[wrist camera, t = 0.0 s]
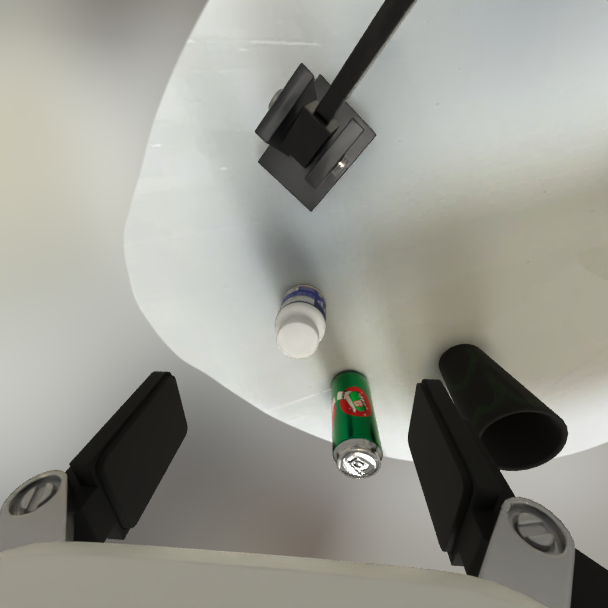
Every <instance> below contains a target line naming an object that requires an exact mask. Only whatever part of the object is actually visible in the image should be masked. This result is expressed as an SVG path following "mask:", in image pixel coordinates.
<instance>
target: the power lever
mask: <svg viewBox="0 0 608 608" xmlns="http://www.w3.org/2000/svg"><path fill="white" fill-rule="evenodd" d="M416 2H417V0H385V2H384V3H383V5H382V6H381V8H380V9H379V11H378V12H377V14H376V16H375V17H374V19H373V20H372V22H371V23H370V25H369V26H368V28H367V30H366V31H365V33H364V34H363V36H362V37H361V39H360V40H359V42H358V44H357V45H356V47H355V48H354V50H353V51H352V53H351V54H350V56H349V58H348V59H347V61H346V62H345V64H344V65H343V67H342V69H341V70H340V72H339V73H338V75H337V76H336V78H335V79H334V81H333V83H332V84H331V86H330V87H329V89H328V90H327V92H326V93H325V95H324V97H323V98H322V100H321V101H320V103H319V102H318V101H317V100H315V101H313V102H311V103H309V104H307V105H305V106H303V108H302V109H301V111H300V113H299V114H298V116H297V117H296V119H295V121H294V122H293V124H292V126H291V127H290V129H289V131H288V132H287V134H286V136H285V137H284V139H283V141H282V142H281V144H280V145H281V146H282V147H283V148H284V149H285V150H286V151H287V152H288V153H289V154H290V155H291V156H292V157H293V158H294V159H295V160H296V161H297V162H298V163H299V164H300V165H301V166H302V167H303V168H306V167H308V166H309V165H310V164H311V163H312V162H313V161H314V160H315V159H316V158H317V157H318V155H319V154H320V153H321V151H322V150H323V149H324V147H325V146H326V145H327V143H328V142H329V141H330V139H331V138H332V137H333V135H334V134H335V132H336V131H337V130H338V128H339V127H340V124H339V123H338V122H337V121H336V120H335V119H334V117H335V116H336V114H337V113H338V112H339V110H340V109H341V107H342V106H343V105H344V103H345V102H346V100H347V99H348V98H349V96H350V95H351V93H352V92H353V90H354V89H355V88H356V86H357V85H358V83H359V82H360V81H361V79H362V78H363V76H364V75H365V74H366V72H367V71H368V69H369V68H370V66H371V65H372V64H373V62H374V61H375V59H376V58H377V57H378V55H379V54H380V52H381V51H382V50H383V48H384V47H385V45H386V44H387V43H388V41H389V40H390V38H391V37H392V35H393V34H394V33H395V31H396V30H397V28H398V27H399V26H400V24H401V23H402V21H403V20H404V19H405V17H406V16H407V14H408V13H409V11H410V10H411V9H412V7H413V6H414V4H415V3H416Z"/></svg>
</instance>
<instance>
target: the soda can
mask: <svg viewBox="0 0 608 608" xmlns="http://www.w3.org/2000/svg"><path fill="white" fill-rule="evenodd" d="M331 395H332V446H333V458H334V460H335V462H336V463H337V467H338V469H339V471H340V472H341V473H342V474H343V475H345V476H347V477H350V478H354V479H365V478H369V477H372V476H373V475H375V474H376V473H377V472H378V471H379V469H380V467H381V460H382V457H383V451H382V447H381V442H380V437H379V432H378V427H377V422H376V417H375V412H374V407H373V402H372V397H371V392H370V388H369V383H368V381H367V379H366V378H365V377H364V376H362V375H361V374H358V373H355V372H345V373H342V374H340V375H338V376H337V377H336V378H335V379H334V380H333V382H332V385H331Z"/></svg>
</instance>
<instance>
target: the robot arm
mask: <svg viewBox="0 0 608 608" xmlns="http://www.w3.org/2000/svg"><path fill="white" fill-rule="evenodd" d="M186 433H187V422H186V418H185V414H184V410H183V406H182V402H181V398H180V394H179V391H178V387H177V383H176V379H175V377H174V376H172V375H171V373H170V372H153V373H151V375H150V376H149V377H148V378H147V379H146V380H145V381H144V382H143V383H142V384H141V385H140V386H139V388H138V389H137V390H136V391H135V392H134V393H133V394H132V395H131V397H130V398H129V399H128V400H127V401H126V402H125V403H124V404H123V405H122V406H121V407H120V409H119V410H118V411H117V412H116V413H115V414H114V415H113V416H112V417H111V418H110V420H109V421H108V422H107V423H106V424H105V425H104V426H103V427H102V428H101V429H100V431H99V432H98V433H97V434H96V435H95V436H94V437H93V438H92V439H91V440H90V442H89V443H88V444H87V445H86V446H85V447H84V448H83V449H82V450H81V451H80V453H79V454H78V455H77V456H76V457H75V458H74V459H73V460H72V461H71V462H70V464H69V465H70V467H69V469H68V470H67V471H66V472H64V471H61V470H52V471H47V472H44V473H41V474H38V475H36V476H35V477H33V478H31V479H29V480H27V481H26V482H24V483H23V484H22V485H20V486H19V487H18V488H17V489H16V490H15V491H14V492H12V493H11V494H10V496H9V497H8V498H7V499H6V501H5V502H4V504H3V506H2V508H1V510H0V608H608V570H607V569H605V568H604V567H602V566H600V565H599V564H598V563H596V562H595V561H593V560H592V559H590V558H588V557H587V556H586V555H584V554H583V553H581V552H580V551H578V550H577V549H576V548H575V546H574V541H573V539H572V537H571V534H570V532H569V531H568V529H567V528H566V527H565V525H564V524H563V523H562V522H561V520H559V519H558V518H557V517H556V516H555V515H554V514H553V513H552V512H551V511H549V510H548V509H546V508H545V507H544V506H542V505H541V504H538V503H536V502H534V501H532V500H530V499H526V498H522V497H515V496H514V494H513V492H512V490H511V489H510V487H509V485H508V484H507V482H506V480H505V479H504V477H503V475H502V473H501V472H500V470H499V468H498V467H497V465H496V463H495V462H494V460H493V458H492V457H491V455H490V453H489V452H488V450H487V448H486V447H485V445H484V443H483V442H482V440H481V438H480V437H479V435H478V433H477V431H476V430H475V428H474V426H473V425H472V423H471V422H470V421H469V420H468V419H467V418H462V417H461V415H460V413H459V412H458V410H457V408H456V406H455V405H454V403H453V401H452V399H451V398H450V396H449V394H448V392H447V391H446V389H445V387H444V385H443V384H442V382H441V381H440V380H434V379H423V380H422V383H417V386H416V392H415V398H414V403H413V409H412V415H411V421H410V427H409V433H408V444H409V448H410V451H411V454H412V457H413V461H414V464H415V467H416V470H417V474H418V477H419V480H420V483H421V487H422V490H423V493H424V496H425V500H426V502H427V506H428V509H429V512H430V516H431V519H432V522H433V525H434V529H435V532H436V535H437V538H438V542H439V545H440V547H441V549H442V551H444V552H448V555H449V558H450V561H451V565H454V566H464V568H465V571H466V573H467V575H465V574H459V573H453V572H447V571H440V570H433V569H423V568H414V567H404V566H394V565H385V564H374V563H362V562H351V561H339V560H327V559H315V558H303V557H291V556H279V555H266V554H253V553H241V552H227V551H215V550H202V549H201V550H200V549H188V548H175V547H174V548H173V547H160V546H147V545H133V544H115V543H104V542H105V540H106V539H107V538H108V539H119V540H124V539H125V537H126V535H127V533H128V531H129V530H130V528H133V527H134V526H135V525H136V524H137V522H138V521H139V519H140V517H141V515H142V513H143V512H144V510H145V508H146V506H147V504H148V503H149V501H150V499H151V497H152V495H153V493H154V492H155V490H156V488H157V486H158V485H159V483H160V481H161V479H162V477H163V475H164V474H165V472H166V470H167V468H168V466H169V465H170V463H171V461H172V459H173V457H174V456H175V454H176V452H177V450H178V448H179V447H180V445H181V443H182V441H183V439H184V437H185V436H186Z"/></svg>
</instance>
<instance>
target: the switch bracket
mask: <svg viewBox="0 0 608 608" xmlns="http://www.w3.org/2000/svg"><path fill="white" fill-rule="evenodd" d="M330 86H331V85H330V84H329V83H328V82H327V81H326V79H325V78H324V77H323V76H322V75H321V74H320V75H319V76H318V78H317V79H316V81H315V79H314V75H313V74H312V73H311V72H310V71H309V70H308V69H307V67H306V66H305V65H304V64H303V63H301V64H300V65H299V67H298V68H297V69H296V71H295V72H294V74H293V75H292V77H291V78H290V80H289V81H288V83H287V84H286V86H285V87H284V89H283V90H282V89H280V90H279V91H278V92H277V93H276V94H275V95H274V97H273V98H272V100H271V102H270V104H269V111H268V112H267V114H266V115H265V117H264V118H263V120H262V121H261V123H260V124H259V126H258V127H257V129H256V130H255V133H256V134H257V135H258V136H259V137H260V138H261V139H262V140H264V141H265V142H266V143H267V144H269V147H268V148H267V150H266V151H265V152H264V154H263V155H262V157H261V158H260V159H259V161H258V163H260V164H261V165H262V166H263V167H264V168H265V169H266V170H267V171H268V172H269V173H270V174H271V175H272V176H273V177H275V178H276V179H277V180H278V181H279V182H280V183H281V184H282V185H283V186H284V187H285V188H286V189H287V190H288V191H290V192H291V193H292V194H293V195H294V196H295V197H296V198H297V199H298V200H299V201H300V202H301V203H302V204H303V205H305V206H306V207H307V208H308V209H309V210H310V211H312V210H313V209H314V208H315V207H316V206H317V205H318V203H319V202H320V201H321V200H322V199H323V198H324V196H325V195H326V194H327V193H328V192H329V190H330V189H331V188H332V187H333V186H334V185H335V183H336V182H337V181H338V180H339V179H340V178H341V176H342V175H343V174H344V173H345V172H346V170H347V169H348V168H349V167H350V166H351V165H352V163H353V162H354V161H355V160H356V159H357V157H358V156H359V155H360V154H361V153H362V152H363V150H364V149H365V148H366V147H367V146H368V145H369V143H370V142H371V141H372V140H373V139H374V137H375V136H376V134H375V133H374V131H373V130H372V129H371V128H370V127H369V126H368V125H367V124H366V123H365V122H364V121H363V120H362V118H361V117H360V116H359V115H358V114H357V113H356V112H355V111H354V110H353V109H352V108H351V107H350V105H349V104H348V103H347V102H345V103H344V105H343V106H342V107H341V109H340V110H339V112H338V113H337V114H336V116H335V117H334V119H335V120H336V121H337V122H338V123H339V124H340V127H339V128H338V130H337V131H336V132H335V134H334V135H333V137H332V138H331V139H330V141H329V142H328V143H327V145H326V146H325V147H324V149H323V150H322V151H321V153H320V154H319V155H318V157H317V158H316V159H315V160H314V161H313V162H312V163H311V164H310V165H309V166H308V167H306V168H303V167H302V166H301V165H300V164H299V163H298V162H297V161H296V160H295V159H294V158H293V157H292V156H291V155H290V154H289V153H288V152H287V151H286V150H285V149H284V148H283V147H282V146H281V145H280V144H281V142H282V141H283V139H284V137H285V136H286V134H287V132H288V131H289V129H290V127H291V126H292V124H293V122H294V121H295V119H296V117H297V116H298V114H299V113H300V111H301V109H302V108H303V106H305V105H307V104H309V103H311V102H313V101H315V100H317V101H318V102H319V103H320V101H321V100H322V98H323V97H324V95H325V93H326V92H327V90H328V89H329V87H330Z"/></svg>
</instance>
